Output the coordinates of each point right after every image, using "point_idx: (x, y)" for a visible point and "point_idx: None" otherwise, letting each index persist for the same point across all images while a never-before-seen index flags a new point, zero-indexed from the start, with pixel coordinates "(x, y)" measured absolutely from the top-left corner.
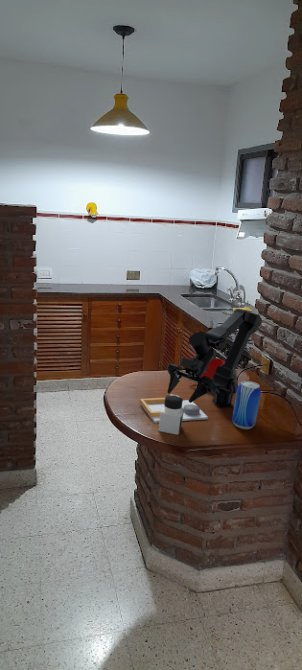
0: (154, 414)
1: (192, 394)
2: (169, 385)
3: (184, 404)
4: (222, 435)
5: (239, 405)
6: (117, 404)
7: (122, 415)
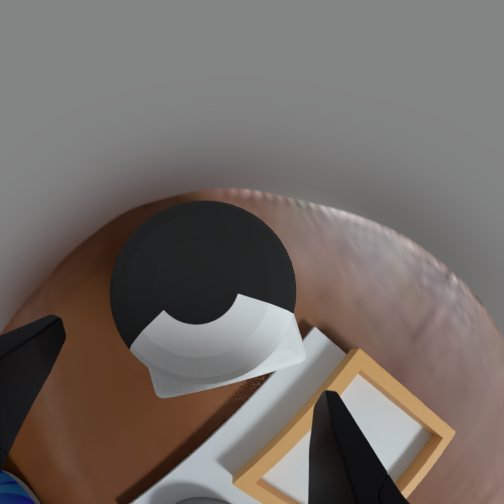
0: (342, 365)
1: (6, 348)
2: (364, 450)
3: None
4: None
5: None
6: (487, 354)
7: (437, 288)
